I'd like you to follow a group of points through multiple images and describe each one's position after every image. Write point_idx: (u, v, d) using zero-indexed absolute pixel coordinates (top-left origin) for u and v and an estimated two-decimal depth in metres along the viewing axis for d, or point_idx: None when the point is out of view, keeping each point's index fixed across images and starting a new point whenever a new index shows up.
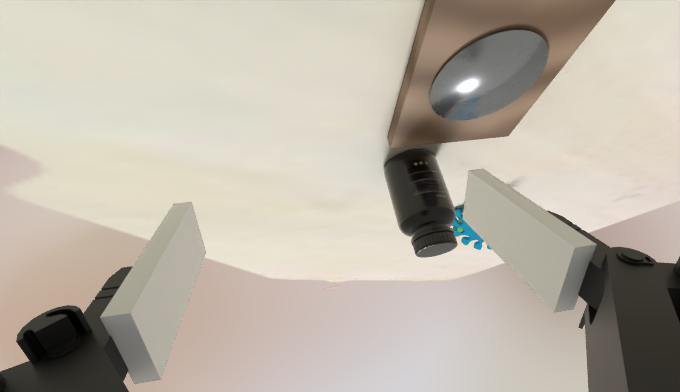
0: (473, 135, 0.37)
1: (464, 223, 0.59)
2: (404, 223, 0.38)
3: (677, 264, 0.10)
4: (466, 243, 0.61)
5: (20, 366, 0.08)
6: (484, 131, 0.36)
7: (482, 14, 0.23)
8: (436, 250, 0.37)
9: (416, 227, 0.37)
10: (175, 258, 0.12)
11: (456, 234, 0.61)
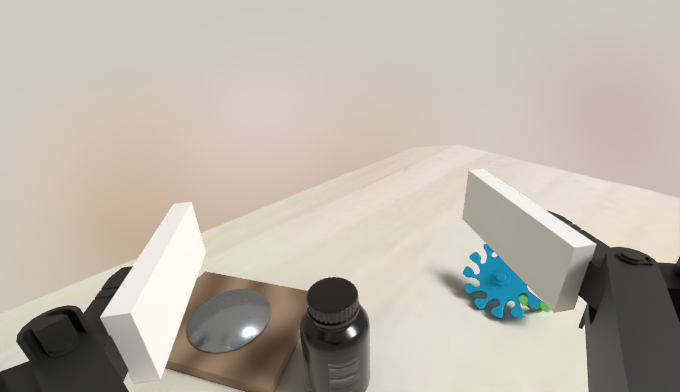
0: (297, 317, 0.41)
1: (507, 297, 0.42)
2: (312, 345, 0.30)
3: (677, 264, 0.10)
4: None
5: (20, 366, 0.08)
6: (297, 310, 0.42)
7: None
8: (332, 293, 0.30)
9: (313, 327, 0.30)
10: (175, 258, 0.12)
11: (535, 301, 0.40)
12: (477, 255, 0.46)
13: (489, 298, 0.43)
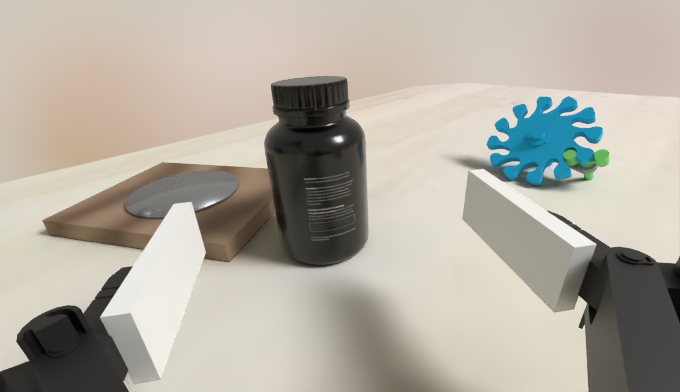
0: None
1: (547, 157, 0.32)
2: (280, 148, 0.20)
3: (677, 264, 0.10)
4: (595, 129, 0.30)
5: (20, 366, 0.08)
6: None
7: (106, 202, 0.31)
8: (308, 80, 0.21)
9: (281, 128, 0.20)
10: (175, 258, 0.12)
11: (587, 152, 0.30)
12: (505, 121, 0.36)
13: (523, 163, 0.33)
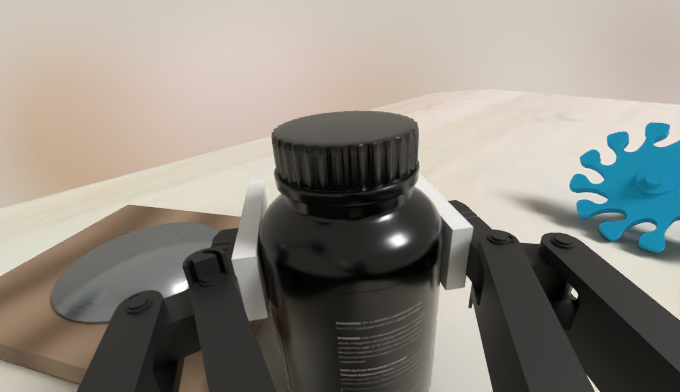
0: None
1: (673, 213, 0.22)
2: (289, 263, 0.10)
3: (540, 247, 0.11)
4: None
5: (172, 296, 0.10)
6: None
7: (30, 282, 0.21)
8: (344, 124, 0.11)
9: (291, 218, 0.11)
10: None
11: None
12: (596, 154, 0.26)
13: (632, 218, 0.23)
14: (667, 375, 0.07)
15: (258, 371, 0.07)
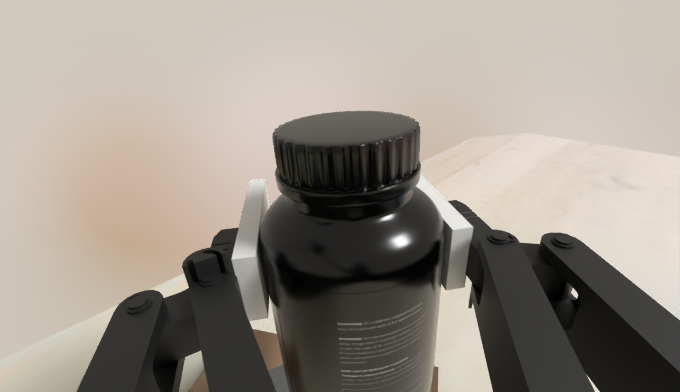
0: None
1: None
2: (291, 263, 0.10)
3: (540, 248, 0.11)
4: None
5: (172, 296, 0.10)
6: None
7: None
8: (345, 124, 0.11)
9: (292, 218, 0.11)
10: None
11: None
12: None
13: None
14: (667, 375, 0.07)
15: (258, 370, 0.07)
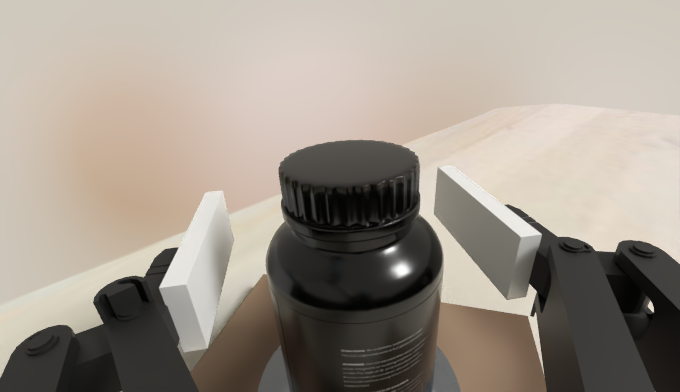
0: (528, 382, 0.16)
1: None
2: (296, 294, 0.10)
3: (616, 254, 0.10)
4: None
5: (90, 330, 0.09)
6: (512, 361, 0.18)
7: None
8: (348, 158, 0.11)
9: (298, 249, 0.11)
10: (213, 241, 0.13)
11: None
12: None
13: None
14: None
15: None
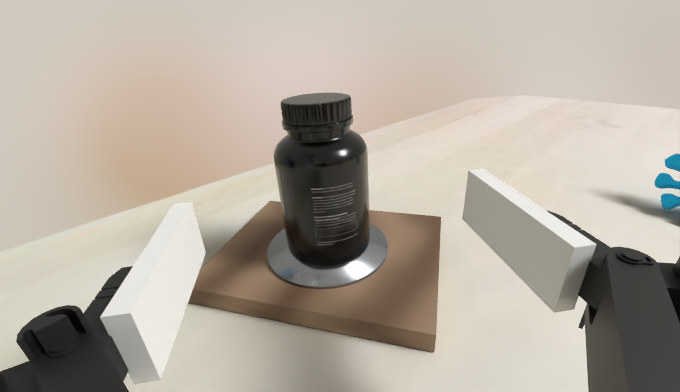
0: (429, 243, 0.28)
1: None
2: (289, 160, 0.22)
3: (677, 264, 0.10)
4: None
5: (20, 366, 0.08)
6: (423, 235, 0.29)
7: (242, 260, 0.27)
8: (315, 98, 0.22)
9: (290, 142, 0.22)
10: (175, 258, 0.12)
11: None
12: None
13: None
14: None
15: None
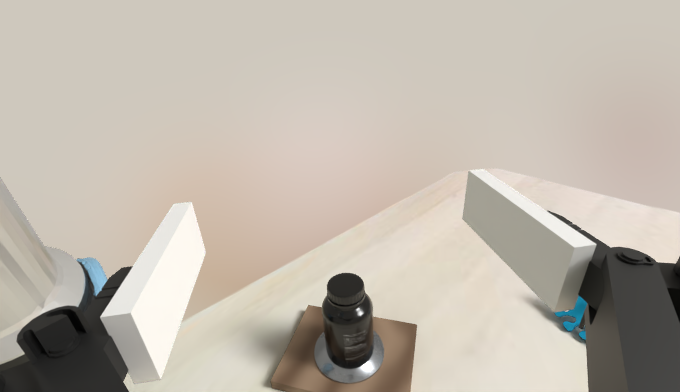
0: (408, 348, 0.47)
1: None
2: (332, 321, 0.41)
3: (677, 264, 0.10)
4: None
5: (20, 366, 0.08)
6: (405, 341, 0.48)
7: (300, 360, 0.47)
8: (345, 284, 0.42)
9: (332, 308, 0.42)
10: (175, 258, 0.12)
11: None
12: None
13: (578, 322, 0.49)
14: None
15: None
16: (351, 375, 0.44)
